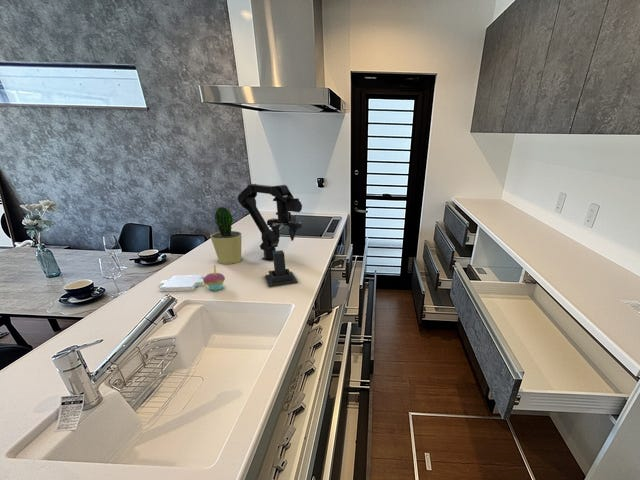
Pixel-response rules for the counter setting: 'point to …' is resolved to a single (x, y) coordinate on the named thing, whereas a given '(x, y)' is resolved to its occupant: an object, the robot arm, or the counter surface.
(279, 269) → the post
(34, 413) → the counter surface
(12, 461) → the counter surface
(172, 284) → the mounting plate
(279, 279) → the socket pad
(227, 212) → the potted cactus
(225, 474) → the counter surface
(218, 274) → the cupcake
